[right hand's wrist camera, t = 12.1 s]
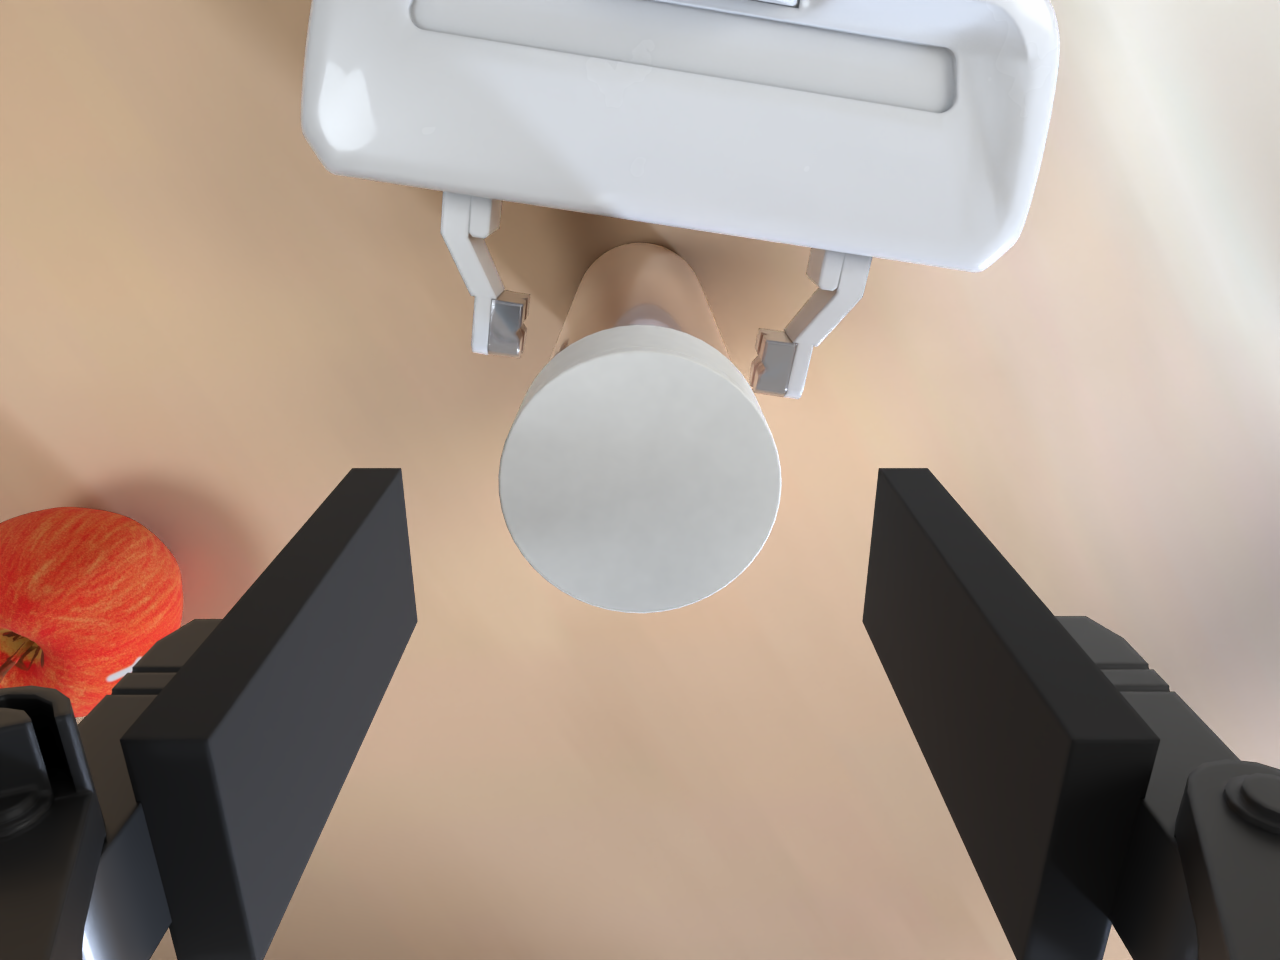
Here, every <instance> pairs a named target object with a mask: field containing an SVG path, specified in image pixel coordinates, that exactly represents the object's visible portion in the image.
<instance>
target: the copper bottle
mask: <svg viewBox="0 0 1280 960" xmlns="http://www.w3.org/2000/svg"><path fill="white" fill-rule="evenodd" d="M630 325H653V326H659V327H665V328H671V329H674V330H677V331H681V332H684V333H687V334H689V335H691V336H694V337H696V338H698V339H700V340H702V341H704V342H706V343H707V344H709V345H710V346H712V347H714V348H715V349H717V350H718V351H719V352H720V353H722V354H723V355H724V356H725V357H726V358H727V359H729V360H730V361H731V359H730V357H729V354H728V352H727V349H726V347H725V344H724V342H723V339H722V337H721V334H720V332H719V329H718V327H717V324H716V322H715V319H714V317H713V314H712V312H711V309H710V307H709V304H708V302H707V299H706V297H705V294H704V292H703V289H702V287H701V284H700V282H699V280H698V278H697V276H696V274H695V273H694V271H693V270H692V268H691V267H690V266H689V265H688V263H687V262H686V261H685V260H684V259H682V258H681V257H680V256H679V255H677V254H676V253H674V252H673V251H671V250H669V249H667V248H665V247H662V246H659V245H656V244H651V243H629V244H624V245H620V246H618V247H615V248H613V249H611V250H609V251H607V252H605V253H604V254H603V255H601V256H600V257H599V258H597V259H596V260H595V261H594V262H593V263H592V264H591V266H590V267H589V268H588V269H587V271H586V272H585V274H584V276H583V278H582V280H581V282H580V284H579V287H578V289H577V292H576V294H575V297H574V299H573V302H572V304H571V307H570V309H569V312H568V314H567V317H566V319H565V322H564V324H563V327H562V329H561V332H560V334H559V337H558V339H557V342H556V344H555V347H554V349H553V352H552V354H551V357H550V359H549V361H551V360H552V359H553V358H554V357H555V356H556V355H557V354H558V353H560V352H561V351H562V350H564V349H565V348H567V347H568V346H569V345H571V344H573V343H574V342H576V341H578V340H580V339H582V338H584V337H586V336H588V335H591V334H594V333H596V332H599V331H602V330H606V329H610V328H615V327H619V326H630Z"/></svg>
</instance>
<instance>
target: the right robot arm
mask: <svg viewBox="0 0 1280 960" xmlns="http://www.w3.org/2000/svg"><path fill="white" fill-rule="evenodd" d="M416 623H417V613H416V603H415V594H414V584H413V575H412V566H411V556H410V547H409V537H408V528H407V519H406V509H405V500H404V490H403V481H402V472H401V468H352V469H351V470H350V472H349V473H348V474H347V475H346V476H345V477H344V479H343V480H342V481H341V482H340V483H339V484H338V486H337V487H336V488H335V489H334V490H333V491H332V493H331V494H330V495H329V496H328V497H327V498H326V500H325V501H324V502H323V503H322V504H321V505H320V507H319V508H318V509H317V510H316V511H315V512H314V514H313V515H312V516H311V517H310V518H309V519H308V521H307V522H306V523H305V524H304V525H303V526H302V528H301V529H300V530H299V531H298V532H297V533H296V535H295V536H294V537H293V538H292V539H291V540H290V542H289V543H288V544H287V545H286V546H285V547H284V549H283V550H282V551H281V552H280V553H279V554H278V555H277V557H276V558H275V559H274V560H273V561H272V562H271V564H270V565H269V566H268V567H267V568H266V569H265V571H264V572H263V573H262V574H261V575H260V576H259V578H258V579H257V580H256V581H255V582H254V583H253V585H252V586H251V587H250V588H249V589H248V590H247V592H246V593H245V594H244V595H243V596H242V597H241V599H240V600H239V601H238V602H237V603H236V604H235V606H234V607H233V608H232V609H231V610H230V611H229V613H228V614H227V615H226V616H225V617H224V618H223V619H194V620H193V621H191V622H189V623H187V624H186V625H184V626H182V627H181V628H179V629H177V630H176V631H174V632H172V633H171V634H169V635H167V636H165V637H164V638H162V639H160V640H159V641H157V642H156V643H155V644H154V645H153V646H152V647H151V648H150V649H149V650H148V652H147V653H146V654H145V655H144V656H143V657H142V658H141V659H140V660H139V661H138V662H137V663H136V664H135V665H134V666H133V667H132V673H127V674H126V675H125V676H124V677H123V678H122V679H121V680H120V681H119V682H118V683H117V684H116V685H115V686H114V687H113V688H112V693H111V695H106V696H105V697H104V698H103V699H102V700H101V701H100V702H99V703H98V704H97V705H96V706H95V707H94V708H93V709H92V710H91V711H90V713H89V714H88V715H87V716H86V717H85V718H84V719H83V720H82V721H81V722H80V723H79V724H78V725H77V723H76V719H75V715H74V712H73V708H72V705H71V701H70V699H69V698H68V697H67V696H65V695H64V694H62V693H61V692H60V691H58V690H57V689H53V688H46V687H39V686H32V685H31V686H20V687H10V688H0V960H150V958H151V956H152V954H153V953H154V951H155V949H156V948H157V946H158V944H159V943H160V941H161V939H162V938H163V936H164V934H165V933H166V931H167V929H168V927H169V929H170V933H171V937H172V940H173V944H174V948H175V952H176V956H177V959H178V960H263V959H264V957H265V955H266V953H267V950H268V948H269V946H270V944H271V942H272V939H273V937H274V935H275V933H276V931H277V928H278V926H279V924H280V922H281V920H282V917H283V915H284V913H285V911H286V909H287V906H288V904H289V902H290V900H291V898H292V895H293V893H294V891H295V889H296V887H297V885H298V882H299V880H300V878H301V876H302V874H303V871H304V869H305V867H306V865H307V863H308V860H309V858H310V856H311V854H312V852H313V849H314V847H315V845H316V843H317V841H318V838H319V836H320V834H321V832H322V830H323V827H324V825H325V823H326V821H327V819H328V817H329V814H330V812H331V810H332V808H333V806H334V803H335V801H336V799H337V797H338V795H339V792H340V790H341V788H342V786H343V784H344V781H345V779H346V777H347V775H348V773H349V770H350V768H351V766H352V764H353V762H354V759H355V757H356V755H357V753H358V751H359V749H360V746H361V744H362V742H363V740H364V738H365V735H366V733H367V731H368V729H369V727H370V724H371V722H372V720H373V718H374V716H375V713H376V711H377V709H378V707H379V705H380V702H381V700H382V698H383V696H384V694H385V691H386V689H387V687H388V685H389V683H390V681H391V678H392V676H393V674H394V672H395V670H396V667H397V665H398V663H399V661H400V659H401V656H402V654H403V652H404V650H405V648H406V645H407V643H408V641H409V639H410V637H411V634H412V632H413V630H414V628H415V626H416ZM863 624H864V626H865V628H866V630H867V632H868V634H869V637H870V639H871V641H872V643H873V645H874V648H875V650H876V652H877V654H878V656H879V659H880V661H881V663H882V665H883V667H884V670H885V672H886V674H887V676H888V678H889V681H890V683H891V685H892V687H893V689H894V691H895V694H896V696H897V698H898V700H899V702H900V705H901V707H902V709H903V711H904V713H905V716H906V718H907V720H908V722H909V724H910V727H911V729H912V731H913V733H914V735H915V738H916V740H917V742H918V744H919V746H920V749H921V751H922V753H923V755H924V757H925V759H926V762H927V764H928V766H929V768H930V770H931V773H932V775H933V777H934V779H935V781H936V784H937V786H938V788H939V790H940V792H941V795H942V797H943V799H944V801H945V803H946V806H947V808H948V810H949V812H950V814H951V817H952V819H953V821H954V823H955V825H956V827H957V830H958V832H959V834H960V836H961V838H962V841H963V843H964V845H965V847H966V849H967V852H968V854H969V856H970V858H971V860H972V863H973V865H974V867H975V869H976V871H977V874H978V876H979V878H980V880H981V882H982V885H983V887H984V889H985V891H986V893H987V895H988V898H989V900H990V902H991V904H992V906H993V909H994V911H995V913H996V915H997V917H998V920H999V922H1000V924H1001V926H1002V928H1003V931H1004V933H1005V935H1006V937H1007V939H1008V942H1009V944H1010V946H1011V948H1012V950H1013V953H1014V955H1015V957H1016V959H1017V960H1102V959H1103V955H1104V952H1105V948H1106V944H1107V940H1108V937H1109V933H1110V929H1111V925H1113V926H1114V928H1115V930H1116V931H1117V933H1118V935H1119V936H1120V938H1121V940H1122V941H1123V943H1124V945H1125V946H1126V948H1127V950H1128V951H1129V953H1130V955H1131V956H1132V958H1133V960H1280V769H1277V768H1273V767H1270V766H1267V765H1263V764H1260V763H1257V762H1248V761H1240V759H1239V758H1238V757H1237V756H1236V755H1235V754H1234V753H1233V752H1232V751H1231V750H1230V749H1229V748H1228V747H1227V746H1226V745H1225V744H1224V743H1223V742H1222V741H1221V740H1220V739H1219V738H1218V736H1217V735H1216V734H1215V733H1214V732H1213V731H1212V730H1211V729H1210V728H1209V727H1208V726H1207V725H1206V724H1205V723H1204V722H1203V721H1202V720H1201V719H1200V718H1199V717H1198V716H1197V715H1196V714H1195V712H1194V711H1193V710H1192V709H1191V708H1190V707H1189V706H1188V705H1187V704H1186V703H1185V702H1184V701H1183V700H1182V699H1181V698H1180V697H1179V696H1178V695H1177V694H1176V693H1175V692H1170V691H1169V685H1168V684H1167V683H1166V682H1165V681H1164V680H1163V679H1162V678H1161V677H1160V676H1159V675H1158V674H1157V673H1156V672H1155V671H1154V670H1149V668H1148V663H1147V662H1146V661H1145V660H1144V659H1143V658H1142V657H1141V656H1140V655H1139V654H1138V653H1137V652H1136V651H1135V650H1134V649H1133V648H1132V647H1131V646H1130V645H1129V644H1128V642H1127V641H1126V640H1125V639H1124V638H1122V637H1120V636H1119V635H1117V634H1115V633H1113V632H1112V631H1110V630H1108V629H1107V628H1105V627H1103V626H1102V625H1100V624H1098V623H1096V622H1095V621H1093V620H1091V619H1090V618H1088V617H1086V616H1054V615H1053V614H1052V613H1051V611H1050V610H1049V609H1048V608H1047V607H1046V606H1045V604H1044V603H1043V602H1042V601H1041V600H1040V599H1039V597H1038V596H1037V595H1036V594H1035V593H1034V592H1033V590H1032V589H1031V588H1030V587H1029V586H1028V585H1027V583H1026V582H1025V581H1024V580H1023V579H1022V578H1021V576H1020V575H1019V574H1018V573H1017V572H1016V571H1015V569H1014V568H1013V567H1012V566H1011V565H1010V564H1009V562H1008V561H1007V560H1006V559H1005V558H1004V557H1003V555H1002V554H1001V553H1000V552H999V551H998V550H997V549H996V547H995V546H994V545H993V544H992V543H991V542H990V540H989V539H988V538H987V537H986V536H985V535H984V533H983V532H982V531H981V530H980V529H979V528H978V526H977V525H976V524H975V523H974V522H973V521H972V519H971V518H970V517H969V516H968V515H967V514H966V512H965V511H964V510H963V509H962V508H961V507H960V505H959V504H958V503H957V502H956V501H955V500H954V498H953V497H952V496H951V495H950V494H949V493H948V491H947V490H946V489H945V488H944V487H943V486H942V484H941V483H940V482H939V481H938V480H937V479H936V477H935V476H934V475H933V474H932V473H931V472H930V470H929V469H928V468H879V472H878V481H877V490H876V500H875V509H874V519H873V528H872V537H871V547H870V556H869V566H868V575H867V584H866V594H865V603H864V613H863Z"/></svg>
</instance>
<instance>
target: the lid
mask: <svg viewBox="0 0 1280 960" xmlns="http://www.w3.org/2000/svg"><path fill="white" fill-rule="evenodd" d="M780 495H781V467H780V461H779V456H778V451H777V448H776V445H775V442H774V439H773V436H772V433H771V431H770V429H769V426H768V424H767V422H766V419H765V417H764V415H763V413H762V410H761V408H760V406H759V403H758V401H757V399H756V397H755V395H754V393H753V391H752V389H751V387H750V385H749V384H748V382H747V381H746V379H745V378H744V377H743V375H742V374H741V372H740V371H739V370H738V369H737V368H736V367H735V366H734V365H733V363H732V362H731V361H730V360H729V359H727V358H726V357H725V356H724V355H723V354H722V353H720V352H719V351H718V350H717V349H715V348H714V347H712V346H710V345H709V344H707V343H706V342H704V341H702V340H700V339H698V338H696V337H694V336H691V335H689V334H687V333H684V332H681V331H677V330H674V329H671V328H665V327H659V326H653V325H630V326H619V327H615V328H610V329H606V330H602V331H599V332H596V333H594V334H591V335H588V336H586V337H584V338H582V339H580V340H578V341H576V342H574V343H573V344H571V345H569V346H568V347H567V348H565V349H564V350H562V351H561V352H560V353H558V354H557V355H556V356H555V357H554V358H553V359H552V360H551V361H549V362H548V363H547V364H546V365H545V366H544V368H543V369H542V370H541V371H540V373H539V374H538V375H537V376H536V378H535V379H534V381H533V382H532V384H531V386H530V387H529V389H528V391H527V392H526V395H525V397H524V399H523V402H522V404H521V406H520V408H519V411H518V413H517V415H516V418H515V420H514V422H513V424H512V427H511V429H510V431H509V434H508V436H507V439H506V441H505V444H504V448H503V452H502V455H501V460H500V468H499V496H500V502H501V508H502V512H503V515H504V519H505V522H506V525H507V527H508V530H509V532H510V534H511V536H512V538H513V540H514V542H515V544H516V545H517V547H518V548H519V550H520V551H521V553H522V555H523V556H524V557H525V558H526V560H527V561H528V562H529V563H530V564H531V566H532V567H533V568H534V569H535V570H536V571H537V572H538V573H539V574H540V575H541V576H543V577H544V578H545V579H546V580H547V581H548V582H550V583H551V584H552V585H554V586H555V587H557V588H558V589H559V590H561V591H562V592H564V593H566V594H568V595H570V596H572V597H574V598H575V599H577V600H580V601H583V602H585V603H588V604H590V605H593V606H596V607H600V608H604V609H608V610H613V611H620V612H626V613H651V612H662V611H667V610H672V609H677V608H680V607H684V606H687V605H690V604H693V603H696V602H698V601H700V600H702V599H704V598H706V597H709V596H711V595H712V594H714V593H716V592H717V591H719V590H720V589H722V588H724V587H725V586H726V585H728V584H729V583H730V582H732V581H733V580H734V579H735V578H737V577H738V576H739V575H740V574H741V573H742V572H743V571H744V570H745V569H746V568H747V567H748V566H749V565H750V564H751V562H752V561H753V560H754V558H755V557H756V556H757V554H758V553H759V552H760V550H761V549H762V547H763V545H764V543H765V542H766V540H767V538H768V536H769V534H770V532H771V529H772V527H773V524H774V522H775V519H776V515H777V511H778V507H779V503H780Z"/></svg>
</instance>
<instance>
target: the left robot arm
mask: <svg viewBox="0 0 1280 960" xmlns="http://www.w3.org/2000/svg"><path fill="white" fill-rule="evenodd" d="M1059 56H1060V38H1059V28H1058V22H1057V18H1056V14H1055V11H1054V8H1053V6H1052V4H1051V2H1050V0H312V2H311V9H310V16H309V23H308V30H307V39H306V48H305V58H304V69H303V81H302V97H301V129H302V132H303V135H304V137H305V139H306V141H307V142H308V144H309V145H310V147H311V148H312V150H313V151H314V153H315V154H316V156H317V157H318V159H319V160H320V162H321V163H322V165H323V166H324V167H325V169H326V170H327V171H329V172H330V173H332V174H335V175H339V176H345V177H352V178H358V179H365V180H371V181H378V182H384V183H391V184H397V185H404V186H411V187H417V188H424V189H430V190H437V191H443V202H442V218H441V235H442V237H443V239H444V241H445V243H446V245H447V247H448V249H449V251H450V253H451V256H452V258H453V260H454V262H455V264H456V266H457V268H458V270H459V272H460V274H461V276H462V279H463V281H464V283H465V285H466V287H467V289H468V291H469V293H470V295H471V296H475V302H474V315H473V328H472V341H471V346H472V352H475V353H480V354H485V355H488V354H489V355H496V356H504V357H512V358H519V359H520V357H521V353H523V351H524V347H525V341H526V333H527V328H526V326H525V324H524V321H525V319H526V318H527V316H528V314H529V303H530V294H525V293H519V292H513V291H507V290H505V287H504V285H503V283H502V280H501V278H500V276H499V273H498V271H497V269H496V266H495V264H494V262H493V259H492V257H491V255H490V252H489V250H488V248H487V245H486V243H485V240H484V239H485V238H486V237H488V236H489V235H491V234H492V233H494V232H495V231H496V230H498V229H499V228H500V219H501V208H502V201H509V202H515V203H522V204H529V205H535V206H542V207H548V208H555V209H561V210H568V211H574V212H581V213H588V214H594V215H601V216H607V217H614V218H620V219H627V220H633V221H640V222H647V223H653V224H660V225H666V226H673V227H679V228H686V229H692V230H699V231H706V232H712V233H719V234H725V235H732V236H738V237H745V238H751V239H758V240H765V241H771V242H778V243H784V244H791V245H797V246H804V247H810V248H811V251H810V256H809V262H808V267H807V272H806V275H807V277H808V278H809V279H810V280H811V281H812V282H813V283H815V284H816V285H817V286H818V287H819V288H818V289H817V290H816V291H815V292H814V294H813V295H812V296H811V297H810V298H809V300H808V301H807V302H806V303H805V305H804V306H803V307H802V308H801V309H800V311H799V312H798V313H797V314H796V315H795V317H794V318H793V319H792V320H791V321H790V323H789V324H788V325H787V326H786V327H785V329H784V331H778V330H770V329H762V328H759V330H758V335H757V340H756V345H755V349H756V351H757V354H758V356H757V357H756V358H755V359H754V360H753V361H752V365H751V370H750V386H752V387H753V389H752V390H753V392H754V393H761V394H767V395H773V396H780V397H787V398H794V399H799V398H800V397H801V395H802V392H803V389H804V385H805V381H806V376H807V372H808V367H809V363H810V358H811V354H812V349H813V346H818V345H819V344H820V343H821V342H822V341H823V340H824V339H825V337H826V336H827V335H828V334H829V333H830V332H831V331H832V330H833V329H834V328H835V327H836V325H837V324H838V323H839V322H840V321H841V320H842V319H843V318H844V317H845V316H846V314H847V313H848V312H849V311H850V310H851V309H852V308H853V307H854V306H855V305H856V303H857V302H858V301H859V300H860V299H861V298H862V297H863V293H864V289H865V285H866V281H867V277H868V273H869V269H870V265H871V261H872V257H876V258H882V259H889V260H896V261H902V262H909V263H915V264H922V265H928V266H935V267H941V268H948V269H955V270H962V271H968V272H981V271H983V270H985V269H986V268H988V267H989V266H990V265H992V264H993V263H994V262H995V261H996V260H998V259H999V258H1000V257H1001V256H1002V255H1003V254H1004V253H1005V252H1007V251H1008V250H1009V249H1010V248H1011V247H1012V246H1013V245H1014V244H1015V243H1016V241H1017V240H1018V238H1019V236H1020V234H1021V232H1022V229H1023V227H1024V224H1025V221H1026V218H1027V215H1028V212H1029V208H1030V205H1031V201H1032V197H1033V194H1034V190H1035V186H1036V182H1037V178H1038V174H1039V170H1040V166H1041V162H1042V157H1043V153H1044V148H1045V144H1046V139H1047V134H1048V128H1049V123H1050V118H1051V113H1052V107H1053V101H1054V94H1055V88H1056V82H1057V75H1058V68H1059Z"/></svg>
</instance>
